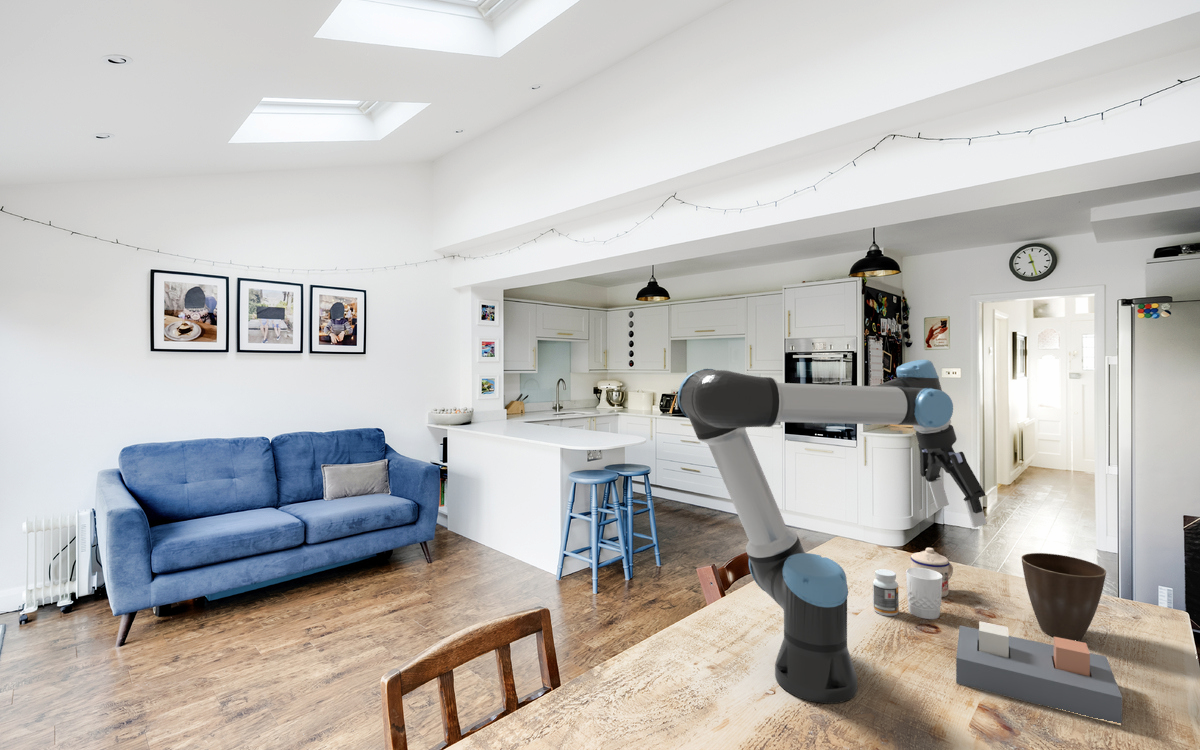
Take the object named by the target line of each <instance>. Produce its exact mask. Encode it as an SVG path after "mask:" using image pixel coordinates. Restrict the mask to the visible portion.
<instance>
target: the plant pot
mask: <svg viewBox="0 0 1200 750" xmlns="http://www.w3.org/2000/svg"><path fill="white" fill-rule="evenodd" d="M1021 564H1022V571H1023V575H1024V576H1023V577H1024V581H1025V586H1026V589H1027V590H1026V591H1027V595H1028V597H1029V600H1030V604H1031V606H1032V610H1033V612H1034V613H1033V614H1034V615H1035V617H1036V621H1037V623H1038V626H1039V627H1040V630H1041V631H1042V632H1043V633H1044V634H1046V635H1048V636H1051V637H1053V638H1054V637H1059V638H1064V639H1069V640H1073V641H1075V640H1079V641H1081V640H1083V639H1084V636H1085V635H1086V633H1087V631H1088V629H1089V627H1090V626H1091V623H1092V621H1093V619H1094V617H1095V614H1096V612H1097V610H1098V607H1099V603H1100V600H1101V596H1102V593H1103V590H1104V585H1105V580H1106V576H1107V575H1106V574H1107V571H1106V569H1105V568H1103V567H1102V566H1101V565H1098V564H1096V563H1094V562H1091V561H1089V560H1085V559H1082V558H1076V557H1073V556H1068V555H1063V554H1056V553H1047V552H1046V553H1045V552H1044V553H1043V552H1031V553H1026V554H1023V555H1021Z"/></svg>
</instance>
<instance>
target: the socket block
mask: <svg viewBox="0 0 1200 750" xmlns="http://www.w3.org/2000/svg"><path fill="white" fill-rule="evenodd" d="M958 628H959V629H958V637H957V648H956V649H957V650H956V657H955V661H956V662H955V665H956V666H955V669H956V670H955V674H956V675H955V684H958V685H962V686H965V687H969V688H973V689H977V690H980V691H985V692H989V693H993V694H996V695H1001V696H1005V697H1008V698H1011V699H1015V700H1020V701H1024V702H1027V703H1030V702H1031V704H1034V705H1038V704H1040V705H1039V706H1042V705H1044V706H1043V707H1046V706H1049V707H1048V708H1050V707H1052V708H1051V709H1053V708H1058V709H1061V710H1062V709H1063V710H1066V711H1070V712H1074V713H1078V714H1081V715H1086V716H1089V717H1093V718H1098V719H1104V720H1107V721H1113V722H1117V723H1122V724H1123V697H1122V696H1123V695H1122V694H1121V691H1120V689H1119V686H1118V683H1117V681H1116V678H1115V675H1114V673H1113V670H1112V668H1111V665H1110V662H1109V660H1108V658H1107V656H1106V655H1102V654H1097V653H1092V652H1089V653H1090V677H1089V676H1085V675H1081V674H1076V673H1072V672H1068V671H1063V670H1059V669H1055V668H1054V644H1050V643H1046V642H1045V643H1044V642H1040V641H1035V640H1030V639H1026V638H1023V637H1022V638H1021V637H1017V636H1012V635H1009V658H1007V657H1002V656H998V655H994V654H989V653H985V652H981V651H979V628H975V627H974V628H973V627H971V626H965V625H960V624H959V627H958ZM1061 710H1060V711H1061Z"/></svg>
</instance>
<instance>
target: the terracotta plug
mask: <svg viewBox="0 0 1200 750" xmlns="http://www.w3.org/2000/svg"><path fill="white" fill-rule="evenodd" d="M1053 645H1054V668H1055V669H1059V670H1063V671H1068V672H1072V673H1076V674H1081V675H1085V676H1089V677H1090V653H1091V652H1090V651H1089V648H1088V644H1087V643H1086V642H1082V641H1073V640H1069V639H1064V638H1059V637H1053Z"/></svg>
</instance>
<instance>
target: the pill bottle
mask: <svg viewBox="0 0 1200 750" xmlns="http://www.w3.org/2000/svg"><path fill="white" fill-rule="evenodd" d="M874 576H875V578H874V579H873V582H872V606H873V607H872V608H873V610H874V611H875V612H876V613H878V614H880V615H882V616H887V617H894V616H897V615H898V614H899V613H900V612H899V610H900V609H899V602H900V601H899V584H898V582H897V581H896V579H897V573H896V572H895V571H893V570H890V569H884V568H880V569H876V570H875V571H874Z"/></svg>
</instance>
